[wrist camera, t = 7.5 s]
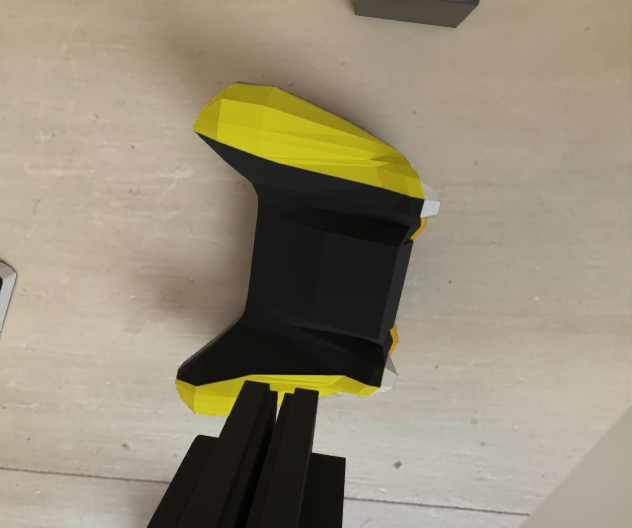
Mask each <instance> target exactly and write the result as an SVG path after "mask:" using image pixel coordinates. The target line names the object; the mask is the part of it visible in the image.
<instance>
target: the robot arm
mask: <svg viewBox="0 0 632 528" xmlns="http://www.w3.org/2000/svg"><path fill="white" fill-rule="evenodd" d="M318 397H319V391H317V390H310V389H304V388H297V387H296V388H295V390H294V394H292V393H286V392H285V394H284V397H283V400H282V404H281V407H280V411H279V414H278V417H277V421H276V413H277V402H278V391H273V390H270V383H264V382H257V381H250V380H245V382H244V384H243V386H242V388H241V390H240V392H239V394H238V397H237V399H236V401H235V403H234V405H233V407H232V410H231V412H230V414H229V416H228V418H227V420H226V422H225V425H224V427H223V429H222V431H221V433H220V435H219V438H218V437H211V436H205V435H198V436H196V438H195V439H194V441H193V443H192V444H191V446H190V448H189V450H188V452H187V454H186V456H185V457H184V459H183V461H182V463H181V465H180V467H179V469H178V470H177V472H176V474H175V476H174V478H173V480H172V482H171V483H170V485H169V487H168V489H167V491H166V493H165V495H164V496H163V498H162V500H161V502H160V504H159V506H158V508H157V509H156V511H155V513H154V515H153V517H152V519H151V521H150V523H149V524H148V526H147V528H342V518H343V501H344V483H345V465H346V458H343V457H337V456H330V455H324V454H318V453H312V446H313V438H314V430H315V422H316V414H317V405H318Z"/></svg>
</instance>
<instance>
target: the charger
mask: <svg viewBox="0 0 632 528" xmlns="http://www.w3.org/2000/svg"><path fill="white" fill-rule="evenodd" d="M479 1H480V0H354V7H355V15H359V16H367V17H375V18H382V19H390V20H398V21H406V22H414V23H422V24H430V25H437V26H445V27H453V28H456V27H457V26H458V25H459V24H460V23H461V22H462V21H463V20H464V19H465V18H466V17H467V16H468V15H469V14H470V13H471V12H472V11H473V10H474V9H475V8H476V7H477V6H478V4H479Z"/></svg>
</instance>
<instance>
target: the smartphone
mask: <svg viewBox="0 0 632 528" xmlns="http://www.w3.org/2000/svg"><path fill="white" fill-rule="evenodd" d="M15 279H16V273H15V272H14V271H13V270H12V269H11V268H10V267H9V266H8V265H6V264H4V263H2V262H0V331H1V327H2V324H3V320H4V317H5V313H6V310H7V306H8V303H9V299H10V296H11V293H12V289H13V286H14V282H15Z"/></svg>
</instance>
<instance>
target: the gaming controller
mask: <svg viewBox="0 0 632 528" xmlns="http://www.w3.org/2000/svg"><path fill="white" fill-rule="evenodd" d="M193 127H194V131H195V132H196V133H197V134H198V135H199V136H200V137H201V138H202V139H203V140H204V141H205V142H206V143H207V144H208V145H209V146H210V147H211V148H212V149H213V150H214V151H215V152H216V153H217V154H218V155H219V156H220V157H221V158H222V159H224V160H225V161H226V162H227V163H228V164H229V165H230V166H232V167H233V168H234V169H235V170H237V171H238V172H239V173H240V174H242V175H243V176H244V177H245V178H247V179H248V180H249V181H250V182H251V183H252V184H253V186H254V189H255V191H256V193H257V195H258V215H257V224H256V232H255V240H254V249H253V257H252V265H251V274H250V282H249V290H248V298H247V302H246V307H245V310H244V312H243V313H242V315H241V316H240V317H238V318H237V319H236V320H235V321H234V322H233V323H231V324H230V325H229V326H228V327H227V328H226V329H225V330H223V331H222V332H221V333H220V334H219V335H218V336H216V337H215V338H214V339H213V340H211V341H210V342H209V343H207V344H206V345H205V346H204V347H202V348H201V349H200V350H199V351H197V352H196V353H195V354H194V355H192V356H191V357H190V358H189V359H187V360H186V361H185V362H183V364H182V365H181V367H180V368H179V369H178V372H177V376H176V381H175V384H176V387H177V391H178V393H179V395H180V397H181V398H182V400H183V401H184V402H185V403H186V404H187V406H188V407H189V408H190V409H191V410H192V411H193V413H194V414H204V415H215V416H225V417H228V416H229V414H230V412H231V410H232V407H233V405H234V403H235V401H236V399H237V397H238V394H239V392H240V390H241V388H242V386H243V384H244V382H245V380H250V381H257V382H264V383H270V390H273V391H278V402H277V406H280V405H281V404H282V400H283V397H284V394H285V392H286V393H292V394H294V390H295V388H296V387H297V388H304V389H310V390H317V391H319V397H321V396H326V395H330V394H335V393H339V392H347V393H351V394H355V395H359V396H370V395H371V394H372V393H378V392H387V391H389V390H391V389H393V388H394V387H395V383H396V380H397V376H398V375H397V373H396V370H395V368H394V365H393V363H392V360H391V358H390V355H391V354H392V352H393V350H394V348H395V346H396V344H397V343H398V335H397V328H396V324H395V318H396V314H397V310H398V305H399V301H400V297H401V292H402V288H403V284H404V280H405V275H406V271H407V267H408V263H409V258H410V254H411V250H412V246H413V240H414V239H415V238H416V237H417V236H418V235H419V234H420V233H421V232H422V231H423V230H424V228H425V227H426V217H427V216H431V215H436V214H438V210H439V205H440V200H439V197H438V194H437V191H436V189H435V188H433V187H431V186H429V185H428V184H426V183H424V182H422V181H420V179H419V175H418V174H417V172H416V171H414V170H413V168H412V167H411V165H410V164H409V162H408V161H407V159H406V158H405V157H404V156H402V155H401V154H400V153H399V152H398V151H396V150H395V149H394V148H392V147H391V146H389V145H388V144H386V143H384V142H383V141H381V140H379V139H378V138H376V137H374V136H373V135H371V134H370V133H368V132H366V131H365V130H363V129H361V128H360V127H358V126H356V125H355V124H353V123H352V122H350V121H348V120H346V119H344V118H342V117H340V116H338V115H335V114H333V113H331V112H329V111H327V110H325V109H323V108H321V107H319V106H316V105H314V104H312V103H310V102H308V101H306V100H304V99H302V98H300V97H298V96H295V95H293V94H291V93H289V92H287V91H285V90H283V89H281V88H276V87H269V86H263V85H257V84H251V83H245V82H236V83H234V84H231V85H230V86H228V87H227V88H226V89H224V90H223V91H221V92H220V93H218V94H217V95H216V96H214V97H213V98H212V99H211V100H210V102H209V103H208V104H207V105H206V106H205V107H204V108H203V109H202V111H201V112H200V114H199V116H198V117H197V119H196V122H195V124H194V126H193Z"/></svg>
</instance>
